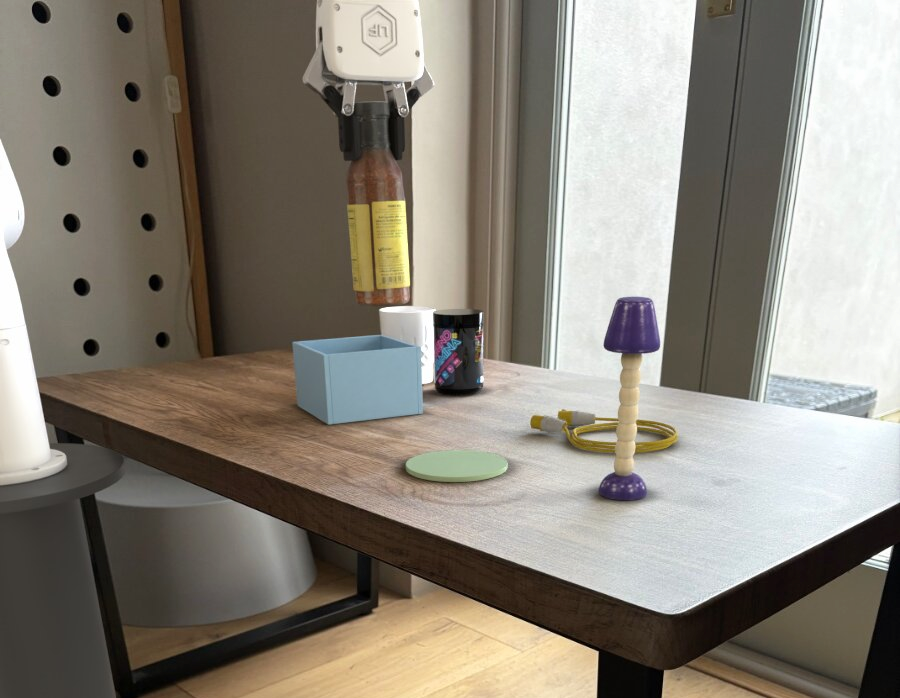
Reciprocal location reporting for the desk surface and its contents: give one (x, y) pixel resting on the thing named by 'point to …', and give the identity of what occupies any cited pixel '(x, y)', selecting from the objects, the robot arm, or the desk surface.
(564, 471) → the desk surface
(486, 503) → the desk surface
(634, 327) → the toy lamp
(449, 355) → the supplement container
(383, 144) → the sauce bottle
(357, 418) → the case
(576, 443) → the extension cord
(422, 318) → the white cup
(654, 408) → the desk surface
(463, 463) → the mat
